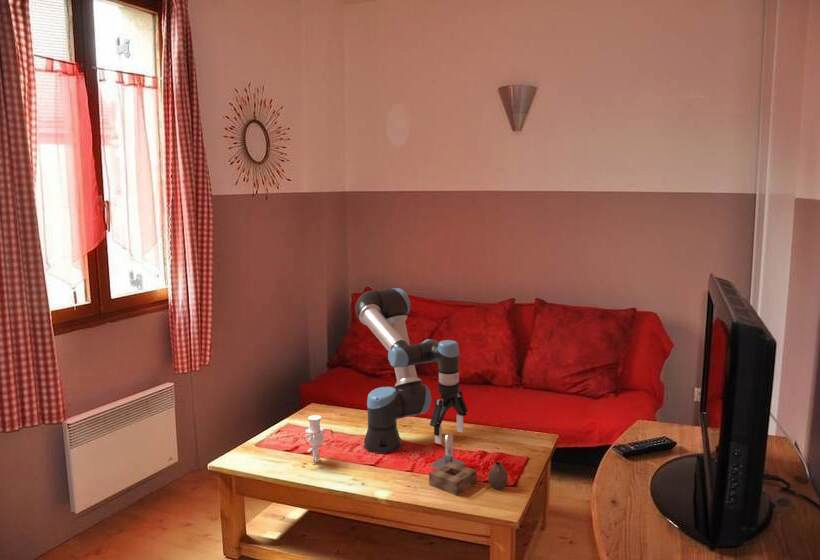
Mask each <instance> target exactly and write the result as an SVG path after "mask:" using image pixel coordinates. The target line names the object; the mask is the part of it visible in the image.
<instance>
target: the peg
mask: <svg viewBox="0 0 820 560" xmlns="http://www.w3.org/2000/svg"><path fill="white" fill-rule="evenodd" d="M444 456H445V464H446V463H447V462H449V461H450V462H453V459H454V434H453V433H445V434H444Z"/></svg>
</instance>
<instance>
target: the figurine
mask: <svg viewBox="0 0 820 560" xmlns="http://www.w3.org/2000/svg"><path fill="white" fill-rule="evenodd" d="M307 419H308V421H309V428H306V429H305V433H306V434H305V435H304V434H303V435H304V437H305V438H304V440H307V444H309V445H311V446H312V447H310V448H308V449H307V451H306V452H307V453H311V452H312V462H311V463H312V464H315V463H317V462H319V459H321V456H320V449H319V446H321V445H323V444H324V437H323V436H324V435H323V434H325V433H326V431H325V430H326V428H324V427H323V425H321V424H320V423H321V420H322V416H321V415H319V414H312V415H309V416H308V417H307Z"/></svg>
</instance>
